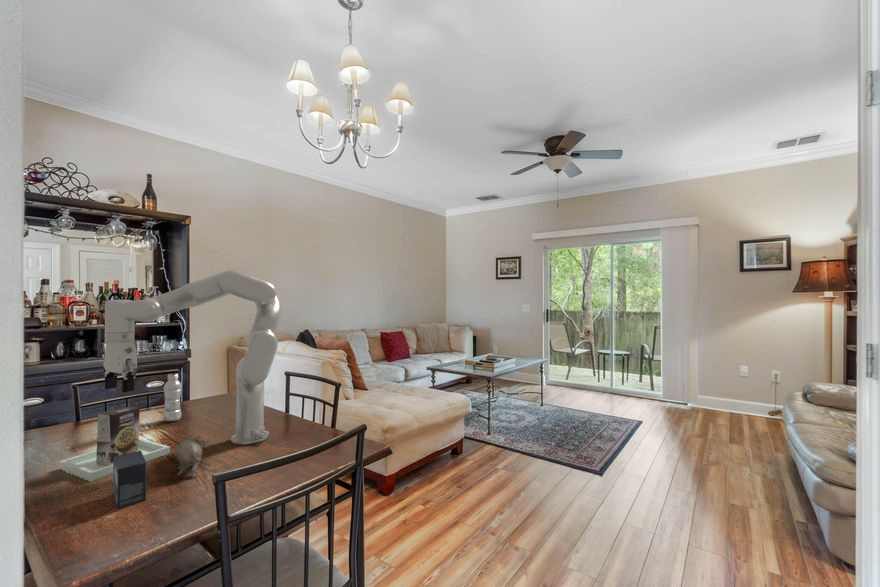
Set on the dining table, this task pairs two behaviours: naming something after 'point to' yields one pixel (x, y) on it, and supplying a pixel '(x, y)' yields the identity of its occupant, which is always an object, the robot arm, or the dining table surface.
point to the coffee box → (117, 434)
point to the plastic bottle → (172, 398)
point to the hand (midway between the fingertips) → (119, 389)
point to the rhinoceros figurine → (190, 454)
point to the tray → (91, 471)
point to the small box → (129, 478)
